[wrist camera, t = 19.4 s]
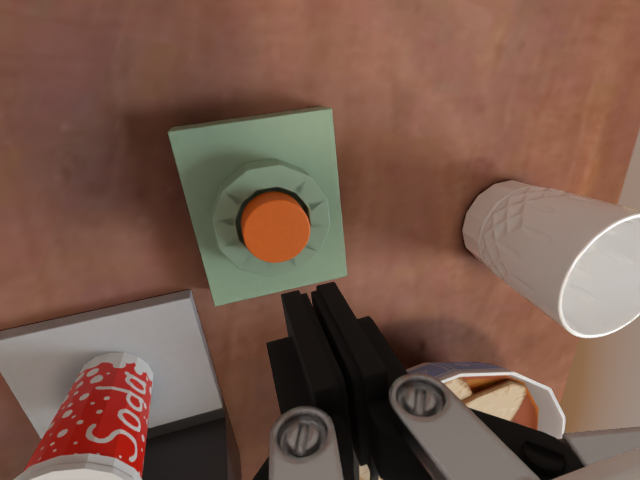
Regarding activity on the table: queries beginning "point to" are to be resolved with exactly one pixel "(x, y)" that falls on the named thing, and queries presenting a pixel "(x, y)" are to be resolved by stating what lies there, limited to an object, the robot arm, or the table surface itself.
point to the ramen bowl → (493, 397)
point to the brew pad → (252, 180)
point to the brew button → (274, 227)
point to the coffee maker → (168, 379)
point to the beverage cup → (98, 424)
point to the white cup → (561, 253)
